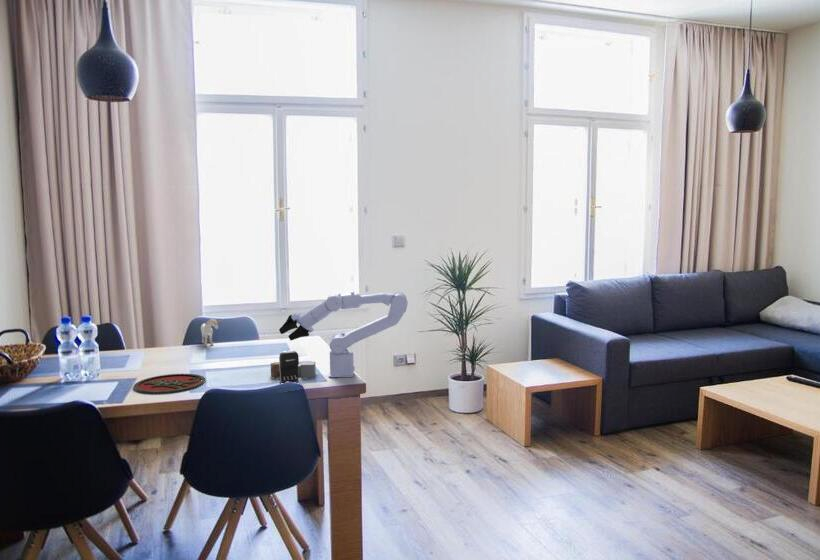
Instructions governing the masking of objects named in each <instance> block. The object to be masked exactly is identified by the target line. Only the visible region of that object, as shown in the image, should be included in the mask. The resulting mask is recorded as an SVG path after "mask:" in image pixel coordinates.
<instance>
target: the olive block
mask: <svg viewBox="0 0 820 560" xmlns="http://www.w3.org/2000/svg"><path fill="white" fill-rule="evenodd" d="M301 364H302V363H299V365H298V377H299V376H300V377H301Z"/></svg>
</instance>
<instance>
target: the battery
mask: <svg viewBox="0 0 820 560" xmlns="http://www.w3.org/2000/svg"><path fill="white" fill-rule="evenodd" d="M278 362H279V366H280V378H279V379H280V380H279V381H280V382H282V383H287V382H286V381H292V382H298V381H299V376H298V365H299V364H300V358H299V353H298V352H297V351H296V350H286V351H285V350H284V351H281V352H280V353H279V356H278Z"/></svg>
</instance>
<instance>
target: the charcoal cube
mask: <svg viewBox="0 0 820 560" xmlns="http://www.w3.org/2000/svg"><path fill="white" fill-rule="evenodd" d="M300 364H301V376H300V377H301V378H315V377H314V376H316V373H317V371H316V361H302V362H301V363H300Z"/></svg>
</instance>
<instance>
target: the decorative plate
mask: <svg viewBox="0 0 820 560" xmlns="http://www.w3.org/2000/svg"><path fill="white" fill-rule="evenodd" d="M201 380H202V381H201ZM206 380H207V379H206V377H204V376H203V375H200V374H195V373H194V374H193V373H171V374H168V373H167V374H162V375H161V374H160V375H156V376H152V377H147V378H144V379H141V380H139V381H137V382H135V383H134V385H133V390H134V391H135V392H136V393H140V394H145V395H166V394H168V395H169V393H170V394H176V393H182V392H183V393H184V392H187V391H191V389H192V390H194V388H195V389H197V387H198V388H200V387H202V386H204V385H205V384H206ZM204 383H205V384H204ZM203 384H204V385H203ZM201 385H202V386H201ZM199 386H200V387H199Z"/></svg>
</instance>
